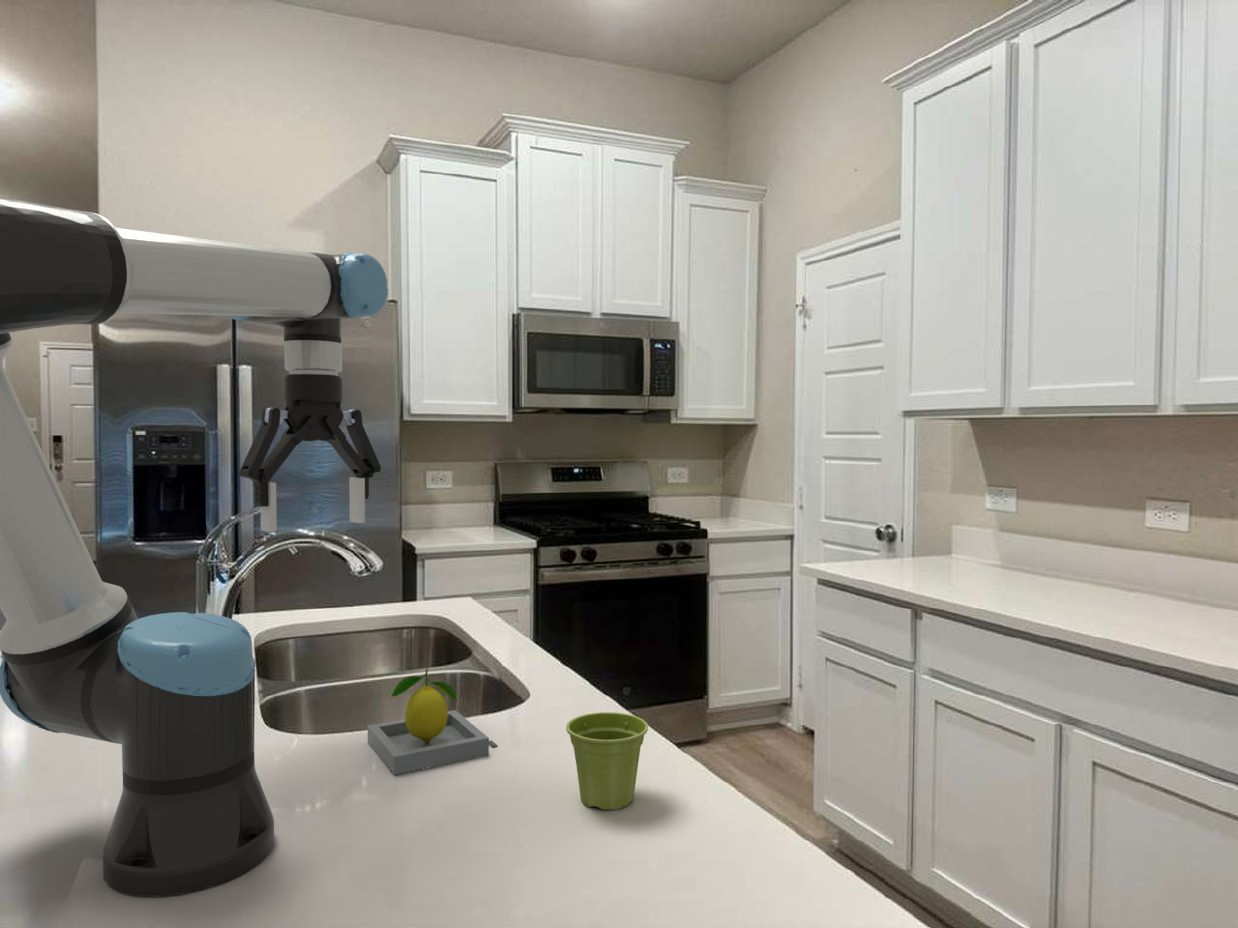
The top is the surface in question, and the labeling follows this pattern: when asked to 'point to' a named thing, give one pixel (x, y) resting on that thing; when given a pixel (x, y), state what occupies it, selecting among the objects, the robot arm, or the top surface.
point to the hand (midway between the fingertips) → (315, 526)
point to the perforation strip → (492, 743)
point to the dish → (427, 744)
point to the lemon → (425, 707)
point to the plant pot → (607, 756)
